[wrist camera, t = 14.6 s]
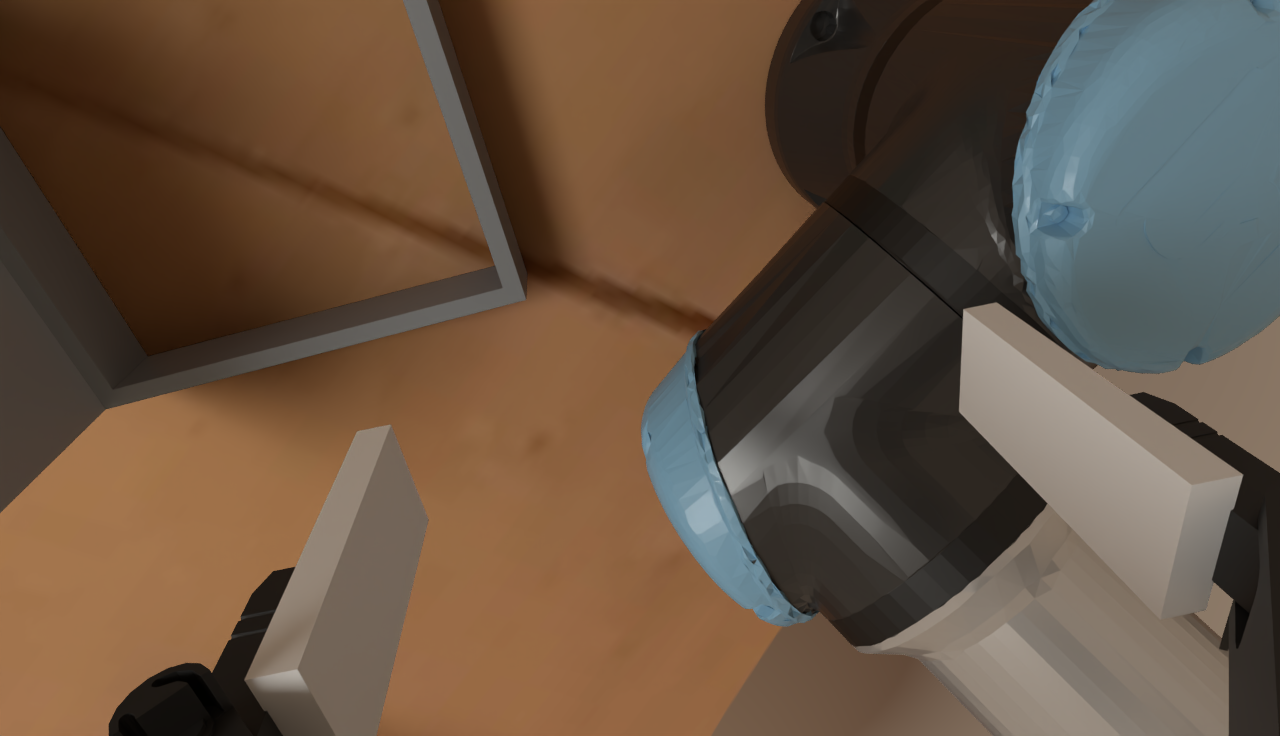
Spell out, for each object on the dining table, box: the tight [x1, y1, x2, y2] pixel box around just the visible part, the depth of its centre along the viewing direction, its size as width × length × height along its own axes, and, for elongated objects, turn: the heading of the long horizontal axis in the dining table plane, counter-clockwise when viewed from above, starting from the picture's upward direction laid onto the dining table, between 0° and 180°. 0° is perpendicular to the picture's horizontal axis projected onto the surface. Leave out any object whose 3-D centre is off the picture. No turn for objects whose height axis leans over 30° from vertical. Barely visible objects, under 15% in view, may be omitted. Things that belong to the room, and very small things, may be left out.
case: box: [0, 0, 527, 513], centre depth 28 cm, size 25×22×23 cm
